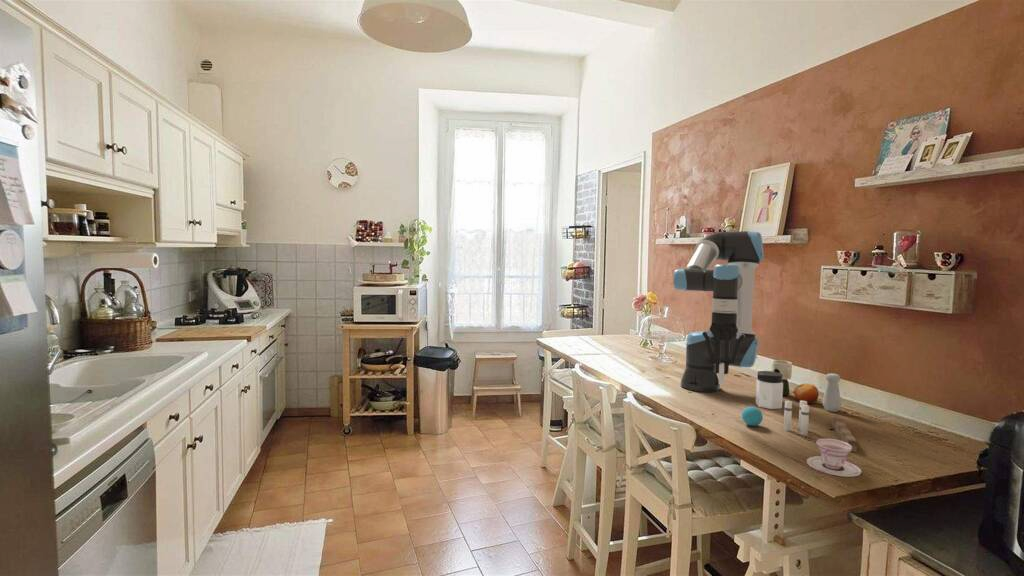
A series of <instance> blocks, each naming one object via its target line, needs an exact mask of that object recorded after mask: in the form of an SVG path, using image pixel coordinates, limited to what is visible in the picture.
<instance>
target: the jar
mask: <svg viewBox="0 0 1024 576" xmlns="http://www.w3.org/2000/svg"><path fill="white" fill-rule="evenodd" d="M756 375H757V377H756V379H755V381H756V383H755V404H756V405H757V407H759V408H763V409H769V410H778V409H783V399H784V398H783V396H784V395H783V382H782V378H783V375H782V374H781V373H778V372H772V370H771V371H770V370H760V371H757V374H756Z"/></svg>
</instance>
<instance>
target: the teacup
mask: <svg viewBox="0 0 1024 576" xmlns="http://www.w3.org/2000/svg"><path fill="white" fill-rule="evenodd" d="M815 443H816V446H817V447H818V448H819V452H820V455H818V456H817V455H816V456H815V455H814V456H810V457H808V458H807V459H806V464H807V465H808V466H809V467H810V468H812V469H814V470H816V471H819V472H821V473H824V474H828V475H831V476H832V475H833V476H838V477H845V478H850V477H858V476H860V475H861V474H862V469H861V468H860V467H859V466H858V465H856V464H854V463H852V462H850V461H847V460H846V458H847V457H848V456H849V453H850V452H852V451H851V450H852V446H851V445H850V444H848V443H846V442H843V441H842V440H841V439H840V440H839V439H834V438H818V439H817V440H816V442H815ZM841 468H843V470H840V469H841ZM854 473H855V474H854Z"/></svg>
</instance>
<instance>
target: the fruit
mask: <svg viewBox="0 0 1024 576" xmlns="http://www.w3.org/2000/svg"><path fill="white" fill-rule="evenodd" d="M793 393H794V396H795V398H796V399H797V400H798V401H799V402H800V401H807V405H809V404H817V402H818V399H819V396H820V395H819V389H818V387H817V386H815V384H812V383H802V384H799V385H797V386H796V387H795V388H794V390H793Z"/></svg>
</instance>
